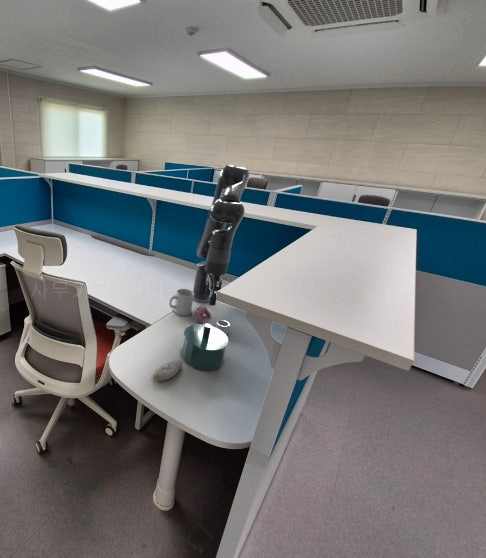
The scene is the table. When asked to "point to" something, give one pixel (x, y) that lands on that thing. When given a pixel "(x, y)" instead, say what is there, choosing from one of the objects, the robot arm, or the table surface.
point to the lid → (206, 337)
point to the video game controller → (201, 313)
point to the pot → (202, 357)
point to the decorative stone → (167, 370)
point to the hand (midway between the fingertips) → (210, 299)
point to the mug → (182, 302)
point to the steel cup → (222, 326)
